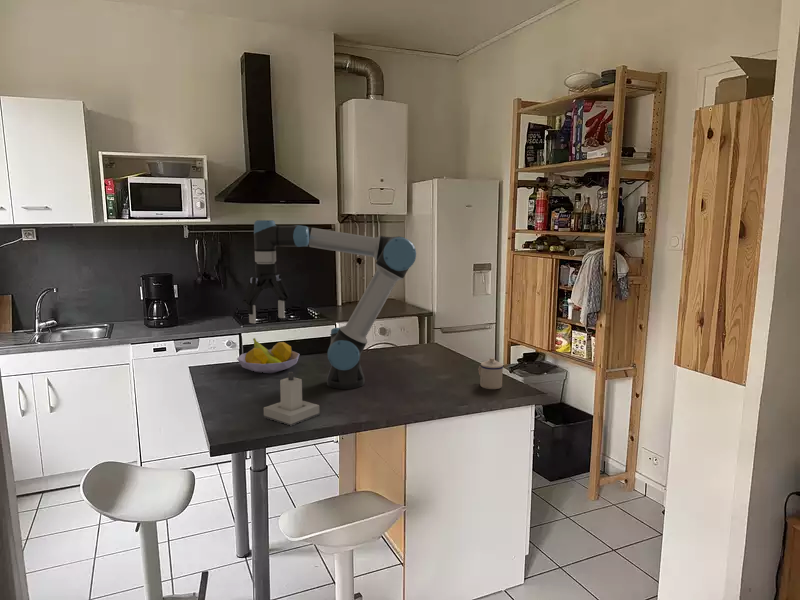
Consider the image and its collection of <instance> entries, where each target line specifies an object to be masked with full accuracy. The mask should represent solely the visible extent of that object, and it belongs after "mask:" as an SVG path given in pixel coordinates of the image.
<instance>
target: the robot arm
mask: <svg viewBox="0 0 800 600" xmlns="http://www.w3.org/2000/svg"><path fill="white" fill-rule="evenodd" d="M253 239H254V240H253V241H254V244H253V245H254V262H255V264H254V269H255V275H256V277H249V278H248V284H247V287H246V291H245V292H244V295H243V299H242V301H241V302H242V304H243V305H246V307H247V308H246V309H247V314H248V317H249V319H248V321H249V323H250V324H256V323H257V312H256V310H257V309H256V305H255V303H256V301H257V299H258V298H259V296H260V294H261V292H262V291H264V290H266V289H271V290H272V291H273V292H274V294H275V296H277V298H278V299H279V300H277V312H278V313H277V314H278V317H277V318H280V319H285V318H286V315H285V314H286V312H285V311H286V310H285V309H286V305H287V304H286V301H288V300H289V299H290V293H289V291H288V288H287V286H286V285H285V281H284V278H283V277H284V276H283V275H282V274H277V263H276V262H277V247H289V248H291V247H294V248H295V247H296V248H300V247H308V248H315V249H320V250H327V251H333V252H334V251H335V252H341V253H346V254H352V255H359V256H364V257H370V258H371V257H372V258H373V259H374V260H375V261H376V262H375V268H376V271H375V272H374V274H373V276H372V278H371V279H370V281H369V283H368V285H367V287H366V289H365V290H364V292H363V294H362V296H361V298H360V299H359V301H358V303H357V305H356V306H355V308H354V310H353V311H352V314H351V315H350V317H349V319H348V321H347V323H346V325H344V326H340V327H333V328H332V329H331V330H330V344H329V347H328V349H327V359H328V362H329V364H330V369H329V372H328V373H327V377H326V385H327V387H330V388H333V389H336V390H338V389H340V390H350V389H352V390H353V389H357V388H360V387H362V386H364V385H365V375H364V371H363V370H362V366H361V354H362V353H363V351H364V349H365V347H366V345H367V343H368V339H367V336H368V334H369V332H370V329H372V326H373V325H374V323H375V321H376V319H377V317H378V316H379V314H380V312H381V311H382V309H383V307H384V305H385V303H386V301H387V300H388V298H389V296H390V295H391V292H392V290H393V289H394V288H395V285H396V283H398V281H401V280H403V279H404V277H405V276H406V274H407V273H408V271H409V270H410V268H411V267H412V266H413V265H414V263H415V261H416V258H417V250H416V246H415V244H414V243H413V242H412V241H411V240H410V239H408V238H406V237H403V236H383V235H379V236H376V237H373V236H367V235H361V234H360V235H359V234H354V233H347V232H342V231H336V230H335V231H334V230H331V229H330V230H328V229H323V228H317V227H309V226H306V225H299V224H295V225H276V221H275V220H270V219H269V220H265V219H263V220H261V219H259V220H255V221H254V222H253Z"/></svg>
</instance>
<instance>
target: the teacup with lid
mask: <svg viewBox="0 0 800 600" xmlns="http://www.w3.org/2000/svg"><path fill="white" fill-rule="evenodd" d="M503 369H504V365H503V363H501V362H499V361H498V360H496V359H495V358H494V357H489V358H488V360H485V361H482V362H481V363H480V365H479V366H478V369H477V371H478V374H479V376H480V378H479V379H480V387H482V388H483V389H487V390H498V389H501V388H502V387H503Z"/></svg>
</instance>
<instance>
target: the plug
mask: <svg viewBox="0 0 800 600" xmlns="http://www.w3.org/2000/svg"><path fill="white" fill-rule="evenodd" d="M294 374H295V372H294V371H289V372H287V377H286V378H285V377H284V378H283V379H282V378H281V379H279V380H280V381H279V383H280V387H279V388H280V390H279V391H280V402H281V409H284V410H288V411H294V410H297V409H299V408H302V401H303V379H302V378H297V377H295V375H294Z"/></svg>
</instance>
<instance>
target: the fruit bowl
mask: <svg viewBox="0 0 800 600" xmlns="http://www.w3.org/2000/svg"><path fill="white" fill-rule="evenodd" d="M252 340H253V348H252V349H250V350H249V351H248V352H245V353H241V354H240V355H239V356H238V357H237V358H236V359H237V362H239V364H240V366H241V368H243V369H246V370H249V371H251V372H253V371H254V372H253V373H262V372H263V373H264V374H275V373H277V372H281V371H283V370H288V369H289V368H291V367H293V366H295V365H296V364H297V363H298V360H299V358H300V353H298V352H296V351H293V350H292V346H291V345H290V344H288V343H286V341H285V342H284V341H280V342H277V343H275V345H273V347H272V348H270V349H268V348H267V347H265V346H264V345H262V344H261V343H260V342H258V341H257V339H256V337H254V338H252ZM263 373H262V374H263Z"/></svg>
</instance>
